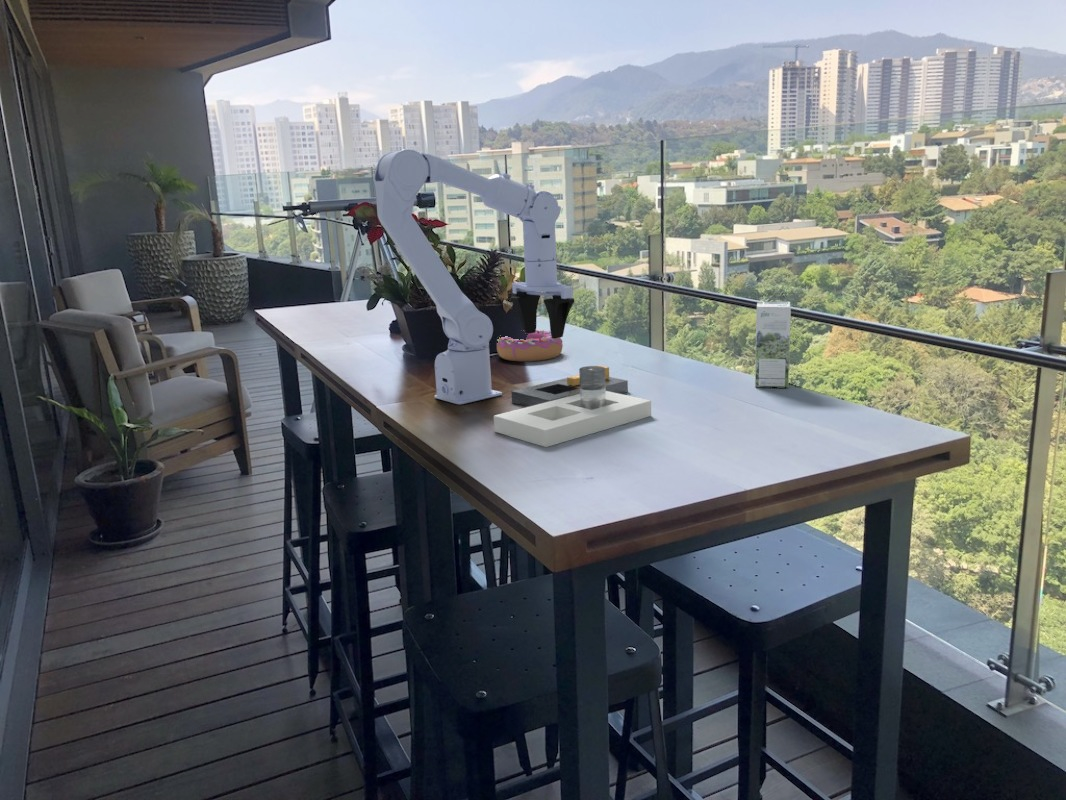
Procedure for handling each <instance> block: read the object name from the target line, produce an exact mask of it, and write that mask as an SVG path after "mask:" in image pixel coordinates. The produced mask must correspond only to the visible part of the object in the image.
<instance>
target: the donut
mask: <svg viewBox="0 0 1066 800" xmlns="http://www.w3.org/2000/svg"><path fill="white" fill-rule="evenodd" d="M498 337H499V336H498ZM497 341H498V343H497ZM563 346H564V345H563V339H562V337H560V338H552V336H551V331H550V330H537V329H536V332H535V333H530V334H528V335H527V337H526V340H524V339H520V340H519V339H513V338H511V337H508V336H505V337H501V338H500V337H499V339H497V338H496V352H497V354H498V356H499V357H500V358H501V359H503V360H507V361H509V362H510V361H512V362H525V363H526V362H540V361H547V360H552V359H554V358H557V357H559V356H561V353H562V350H563Z"/></svg>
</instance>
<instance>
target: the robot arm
mask: <svg viewBox="0 0 1066 800" xmlns="http://www.w3.org/2000/svg"><path fill="white" fill-rule="evenodd" d="M374 171H375V172H374V174H373V178H372V181H373V183H374V187H375V198H376V200H375V201H376V211H377V212H376V213H377V214H376V215H377V218H378V221H379V223H380V224H381V226H382V227H383V228H384V230H385V231H386V233H387V234H388V236H389V237H390V239H391V240H392V242H393V243H394V245H395V247H396V248H397V249H398V251H399V253H400V254H401V255H402V257H403V258H404V260H405V261H406V262H407V264H408V266H409V267H410V268H411V270H412V272H413V273H414V275H415V276H416V278H417V279H418V280H419V282H420V284H421V285H422V286H423V288H424V289H425V291H426V292H427V294H428V295H429V297H430V298H431V300H432V301H433V303H434V304H435V307H436V313H437V315H438V316H439V317H440V320H441V323H442V329H443V333H444V334H445V336H446V337H447V338H448V339H449V340H448V344H447V350H445V351H443V352H440V353H438V354H437V355H436V357H435V360H434V374H435V376H434V377H435V378H434V379H435V388H436V389H435V390H436V394H435V395H434V399H438V400H442V401H445V402H448V403H452V404H455V405H464V404H468V403H472V402H477V401H481V400H486V399H490V398H495V397H498V396H502V395H503V392H502V391H499V390H494V389H492V388H493V387H492V376H491V375H492V374H491V373H492V372H491V358H490V357H491V356H490V343H489V342H490V341H491V339H492V337H493V332H494V325H493V323H492V320H491V319H490V317H489V316H488V315H486V314H485V313H483V312H482V311H480V310H479V309H478V308H477V307H476V306H475V304H474V303H473V302H472V301H471V299H470V298H468V296H467V295H466V294H464V292H463V291H462V290H461V289H460V286H459V285H458V284H457V282H456V281H455V279H454V277H453V276H452V274H451V273H450V271H449V270H448V269H447V266H445V264H444V262H443V260H442V259H441V257H440V256H439V255H438V253H437V251H436V250H435V248H434V247H433V246H432V244H431V243H430V241H429V239H428V238H427V235H425V233H424V232H423V230H422V229H421V227H420V226H419V224H418V223H417V221H416V219H415V218H414V217H413V215H412V212H413V210H414V209H413V208H414V205H415V201H416V198H417V195H418V194H419V192H420V191H421V189H422V188H423V186H424V185H425V184H435V183H441V184H444V185H446V186H449V187H452V188H455V189H458V190H462V191H464V192H468V193H470V194H473V195H476V196H480V199H481V201H482V203H483V204H484V206H485V207H487V208H489V209H493V210H495V211H498V212H500V213H503V214H506V215H509V216H512V217H515V218H517V219H519V221H521V222H522V232H523V233H522V234H523V235H522V236H523V254H524V255H523V257H524V261H523V262H524V278H525V280H524V281H525V282H523V281H517V282H512V283H511V287H512V294H515V296H511V297H510V301H511V303H512V305H513V306H514V307H515V309H516V312H517V314H518V316H519V318H520V322H521V325H522V328H523V329H522V330H523V331H524V332H525V334H530V333H535V332H536V330H537V312H538V306H539V302H540V300H541V299H540V298H541V296H543V297H549V298H545V299H543V303H544V304H543V305H544V306H545V308H546V311H547V314H548V318H549V319H548V320H549V331H551V336H552V338H563V336H564V333H565V329H566V328H565V327H566V323H567V319H568V316H569V313H570V311H571V309H572V307H573V305H574V303H575V298H574V291H573V290H574V288H573V286H571V285H570V286H569V285H564V284H562V283H561V282H558V267H557V241H556V238H557V237H556V222H557V220H558V218H559V217H560V214H561V212H562V211H561V206H560V205H559V203H558V200H557V198H556V197H555V196H554V194H552V193H551V192H548V191H544V190H543V191H538V190H537V191H536V190H535V185H534V184H531V183H528V184H524V183H521V182H518V181H515V180H513V179H511V177H512V176H511V175H510V174H508V173H506V172H502V173H501V174H498V173H495V174H493V175H491V176H489V177H484V176H482V175H480V174H478V173H476V172H473V171H472V170H469V169H467V168H464V167H462V166H460V165H458V164H455V163H452V162H450V161H448V160H446V159H444V158H441V157H440V156H439V157H438V156H435V155H433V154H429V153H424V152H421V153H420V152H419V151H418V150H415V149H410V148H405V149H401V150H399V151H389V152H387V153H385V154H384V155H382V156H381V157H380V159H379V160H378V162H377V163H376V168H375V170H374ZM550 297H552V298H550Z"/></svg>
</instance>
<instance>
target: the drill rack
mask: <svg viewBox="0 0 1066 800" xmlns="http://www.w3.org/2000/svg"><path fill="white" fill-rule="evenodd" d="M649 417H652V400H649V399H645V398H640V397H636V396H632V395H628V394H627V395H626V394H624V393H621V394H618V393H614V392H609V391H606V406H604V407H601V408H597V409H594V410H590V409H586V408H582V407H581V406H580V394H577V395H573V396H569V397H565V398H561V399H557V400H553V401H549V402H545V403H541V404H537V405H533V406H530V407H528V406H525V407H523V408H518V409H514V410H510V411H506V412H503V413H498V414H495V415H493V428H494V430H493V431H494V432H495V433H499V434H501V435H505V436H508V437H512V438H515V439H517V440H521V441H524V442H528V443H531V444H533V445H537V446H541V447H544V448H547V447H550V446H555V445H557V444H561V443H565V442H568V441H571V440H576V439H578V438H582V437H584V436H585V437H586V436H588V435H592V434H594V433H599V432H601V431H605V430H608V429H609V430H610V429H612V428H615V427H619V426H622V425H624V424H625V425H626V424H628V423H632V422H635V421H639V420H642V419H645V418H649Z"/></svg>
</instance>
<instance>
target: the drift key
mask: <svg viewBox="0 0 1066 800" xmlns="http://www.w3.org/2000/svg"><path fill="white" fill-rule="evenodd" d="M595 366H601V367H604V368H605V379H608V378H609V377H610V367H609V366H604V365H599V364H596V365H595ZM566 378H567V384H568V385H573V386H576V385H580V375H579V374H576V375H572V376H569V377H566Z"/></svg>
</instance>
